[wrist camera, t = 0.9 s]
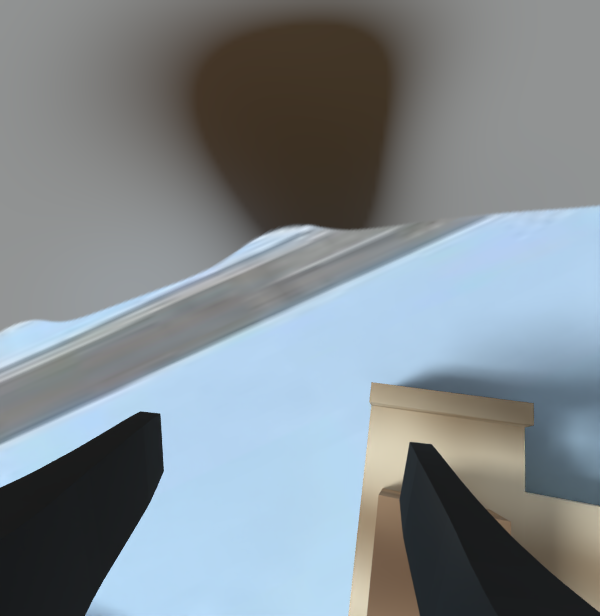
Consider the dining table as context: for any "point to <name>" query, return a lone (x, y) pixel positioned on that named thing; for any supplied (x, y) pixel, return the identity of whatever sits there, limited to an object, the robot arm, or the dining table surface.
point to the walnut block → (395, 561)
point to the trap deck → (474, 480)
